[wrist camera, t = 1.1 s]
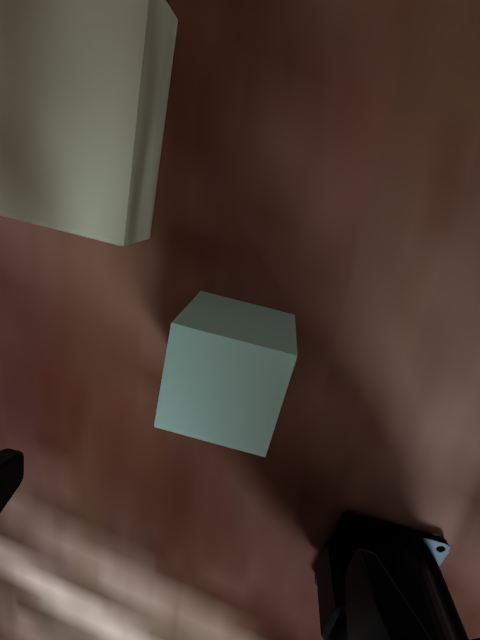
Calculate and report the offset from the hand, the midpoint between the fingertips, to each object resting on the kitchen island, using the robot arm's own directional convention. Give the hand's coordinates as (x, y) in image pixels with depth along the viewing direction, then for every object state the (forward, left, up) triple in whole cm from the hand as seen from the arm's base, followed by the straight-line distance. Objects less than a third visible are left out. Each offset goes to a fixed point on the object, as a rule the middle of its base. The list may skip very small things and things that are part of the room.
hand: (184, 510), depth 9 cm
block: (0, 0, -11) cm, 11 cm away
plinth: (+10, -9, -10) cm, 17 cm away
